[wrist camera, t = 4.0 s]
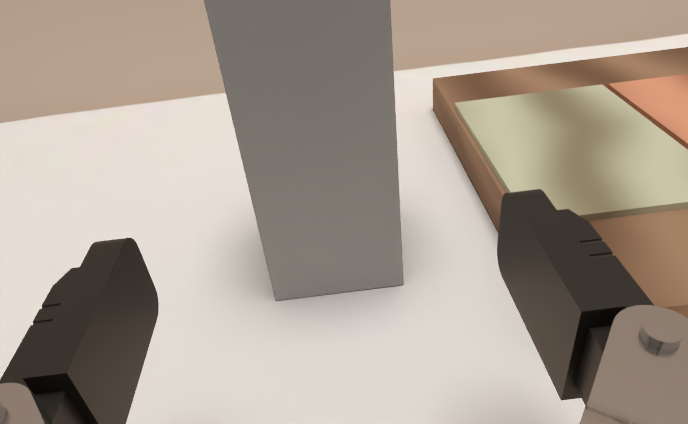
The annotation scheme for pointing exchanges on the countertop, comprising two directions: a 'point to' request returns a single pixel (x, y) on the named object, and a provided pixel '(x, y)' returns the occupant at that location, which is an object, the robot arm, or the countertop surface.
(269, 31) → the slate brick
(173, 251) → the countertop surface
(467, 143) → the walnut board
